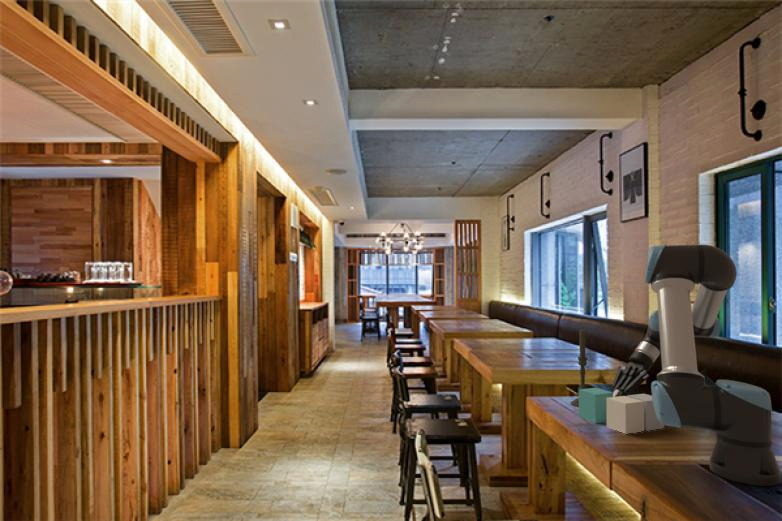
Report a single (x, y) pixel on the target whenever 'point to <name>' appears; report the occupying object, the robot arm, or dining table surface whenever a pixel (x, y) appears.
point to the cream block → (625, 414)
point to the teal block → (593, 404)
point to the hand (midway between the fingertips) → (609, 406)
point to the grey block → (648, 412)
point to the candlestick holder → (582, 363)
